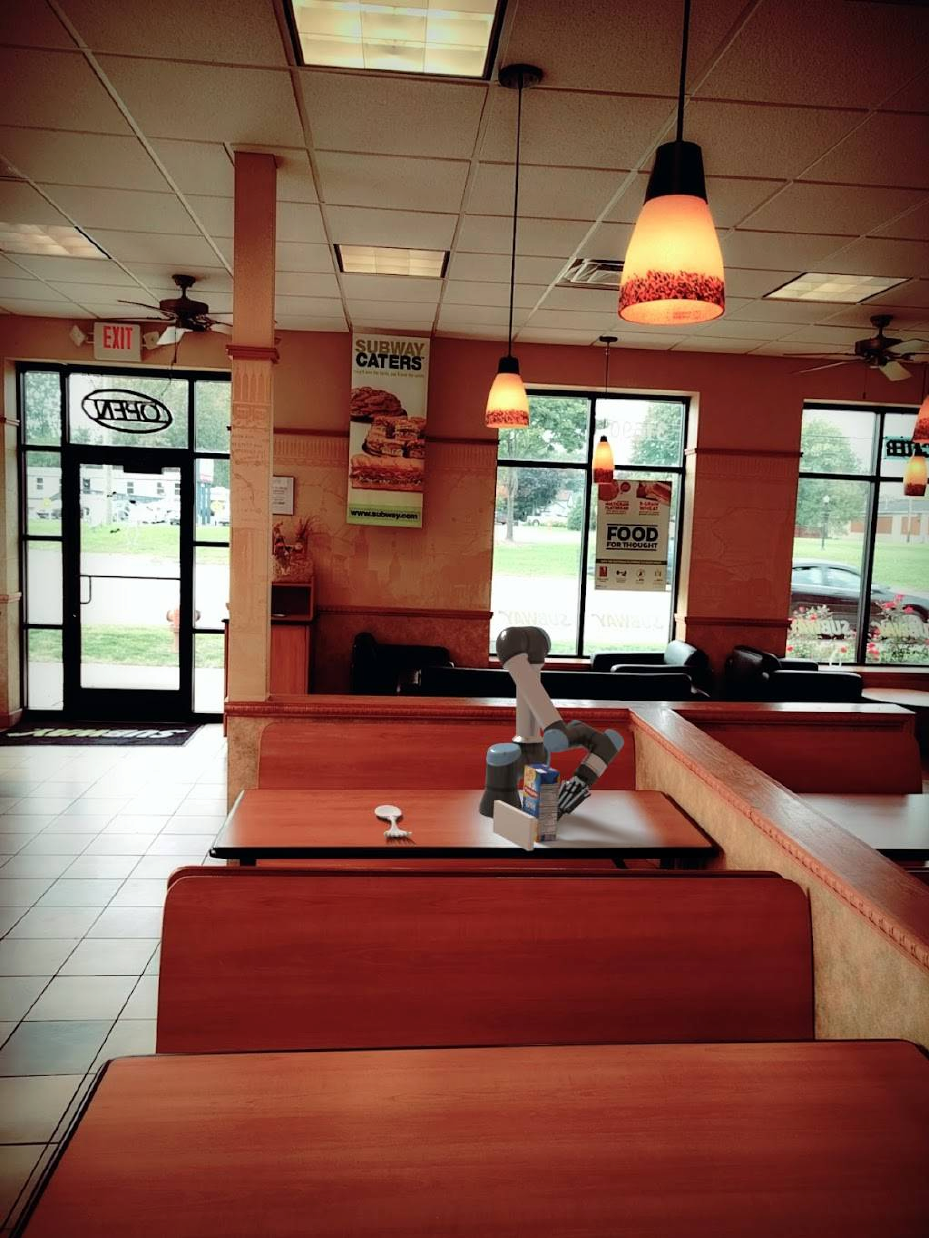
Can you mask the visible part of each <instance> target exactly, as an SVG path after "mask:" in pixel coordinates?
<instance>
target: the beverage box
mask: <svg viewBox="0 0 929 1238" xmlns="http://www.w3.org/2000/svg"><path fill="white" fill-rule="evenodd" d="M560 779H561V772H560V771H559V770H557V769H555V768H552V767H551V766H550V765H549V766H547V765H545V764H532V765H525V773H524V779H523V793H522V811H523V812H525V813H527V814H529V815H531V816H533V817H535V832H534V843H546V842H547V843H548V842H556V841H557V830H558V829H557V828H558V827H557V826H558V822H557V814H558V798H559V789H560Z"/></svg>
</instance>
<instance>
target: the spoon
mask: <svg viewBox="0 0 929 1238" xmlns="http://www.w3.org/2000/svg"><path fill="white" fill-rule="evenodd" d="M402 812H403V811H402V810H401V809H400V808H398V807H396V806H393V805H390V804H389V805H387V804H385V805H380V806H377V807H376V808H375V809H374V814H375V815H376V816H378V817H380V818H381V819H387V820H388V821H391V827H390V829H389V830H386V831H384V832H383V836H386V837H393V838H394V837H395V838H398V837H401V838H402V837H407V836H412V835H413V833H412V832H411V831H406V830H402V829H399V827H398V825H397V821H396V820H398V818H399V817H401V816H402Z"/></svg>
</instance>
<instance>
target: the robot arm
mask: <svg viewBox="0 0 929 1238" xmlns="http://www.w3.org/2000/svg"><path fill="white" fill-rule="evenodd" d="M551 649H552V640H551V638H550V635H549V634H548V632H546V630H545V629H543V628H542V627H539V626H534V625H528V626H527V625H526V626H509V627H508V626H507V627H506V628H504V629H502V630H501V631H500V632H499V634H498V635H497V637H496V641H495V653H496V656H497V658H498V659H497V660H498V661H499V663H500V665H501V667H502V668H503V670H505V671H508V673H509V675H510V676H511V678H512V680H513V682H514V684H515V685H516V702H515V703H516V704H515V705H516V708H515V711H516V715H515V716H516V717H515V719H516V722H515V723H516V727H515V733H516V734H515V735H514V736H513V737H512V739H511V742H504V743H501V742H500V743H496V744H493V745H491V746H490V747H489V748H488V750H487V752H486V753H487V754H486V760H485V761H486V762H485V763H486V764H485V785H484V792H483V794H482V796H481V798H480V799H481V800H480V802H479V804H478V805H479V806H478V812H479V813H480V814H482V815H484V816H486V817H490V818H493V816H494V801H496V800H500V801H502V802H504V803H507V804H509V805H511V806H513V807H515V808H517V809H519V810H521V811H522V807H523V802H522V800H521V797H520V796H521V795H520V793H519V792H520V791H519V785H520V780H524V773H525V765H532V764H545V765H547V766H549V767H550V764H551V753H563V752H565V751H570V750H576V749H580V748H582V749H584V750H586V751H588V753H587V755H585V757H584V758H583V759H582V760H581V764H579V765H578V766H577V767H576V769H575V770H574V771H573V772H574V775H573V777H571V778H570V779H569V780H568V781H567V780H565V779H563V780H562V781H561V785H560V786H559V798H558V814H557V823H558V822H559V821H560V820H561V818H562V817H563V816H564V815H570V814H571V813H573V812H574V811H575V809H577V808H578V807H580V805H581V804H582V803H583V802H584V801H585V800H586V799H587V798H589V797H591V796H592V793H591V791H590V787H594V785H595V784H596V782H597V781H598V780H599V778H600V777H601V776H602V774H604V772H605V770H606V769H607V768H608V766H609V765H610V764H611V762H612V761H613V760H614V758H615V757H616V756H617V755H618V754H620V753H619V752H620V751H621V750H622V748H623V746H624V745H625V740H624V738H623V736H622V735H621V734H620V733H619V732H617V731H616V730H614V729H612V728H611V729H610V728H608V729H606V730H605V731H604V732H601V731H600V730H597V729H595V728H593V727H592V726H590V725H588V724H586V723H585V722H582V721H581V720H578V719H577V720H576V719H573V720H571V721H570V722H568V723H567V725H566V723H565V722H564V720H563V718H562V717H561V715H560V713H559V712H558V709H557V708H556V706H555V705H554V703H553V701H552V699H551V698H550V695H549V694H548V692H547V691H546V690H545V687H544V686H543V684H542V683H541V670H542V668H543V667H544V666H545V665H546V664H545V663H546V657H547V656H548V655H549V653H551ZM541 730H542V732H543V733H544V734H543V736H541Z"/></svg>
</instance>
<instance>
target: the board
mask: <svg viewBox="0 0 929 1238" xmlns="http://www.w3.org/2000/svg"><path fill="white" fill-rule="evenodd" d="M492 818H493V819H492V833H493V832H494V833H495V834H497V835H499V836H500V837H502V838H505V839H506V840H507V841H510V842H511V843H513V844H514V845H516V846H518V847H520V848H522V849H524V850H526V851H527V852H528V851H529V852H530V851H534V849H535V848H534V846H535V841H534V832H535V817H533V816H531V815H529V814H527V813H525V812H523V811H521V810H519V809H517V808H515V807H513V806H511V805H509V804H507V803H504V802H502V801H500V800H496V801H494V816H493V817H492Z"/></svg>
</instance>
